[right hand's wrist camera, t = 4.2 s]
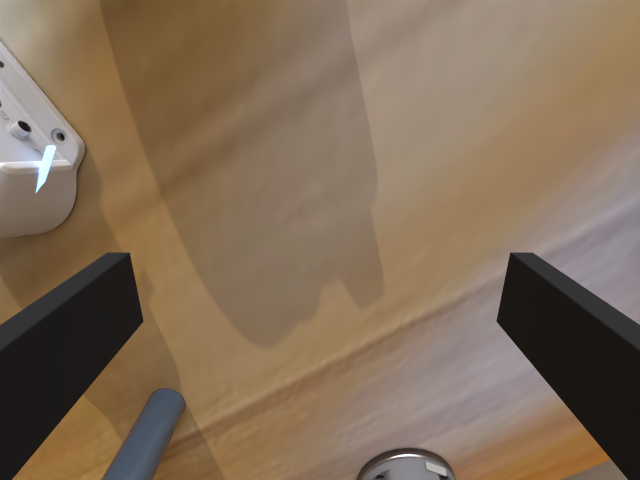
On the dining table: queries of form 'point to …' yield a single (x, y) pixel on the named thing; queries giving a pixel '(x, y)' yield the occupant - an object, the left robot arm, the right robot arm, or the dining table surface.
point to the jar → (147, 438)
